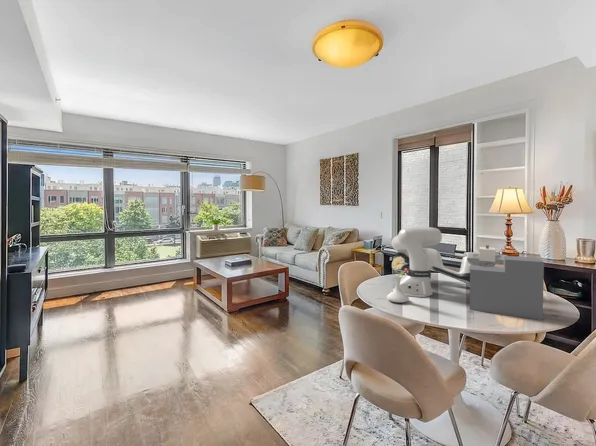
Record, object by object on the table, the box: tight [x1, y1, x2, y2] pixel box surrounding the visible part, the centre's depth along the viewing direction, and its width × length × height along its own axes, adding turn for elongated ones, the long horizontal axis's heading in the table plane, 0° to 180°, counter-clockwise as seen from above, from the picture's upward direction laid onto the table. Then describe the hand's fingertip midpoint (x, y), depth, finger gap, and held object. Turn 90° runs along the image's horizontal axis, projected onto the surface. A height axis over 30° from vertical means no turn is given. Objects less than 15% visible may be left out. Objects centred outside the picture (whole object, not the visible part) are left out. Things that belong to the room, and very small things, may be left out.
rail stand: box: [469, 255, 545, 321], centre depth 143 cm, size 12×28×26 cm, turn 57°
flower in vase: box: [386, 256, 410, 303], centre depth 159 cm, size 13×11×25 cm
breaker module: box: [478, 244, 497, 262], centre depth 160 cm, size 19×7×8 cm, turn 148°
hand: (487, 253), depth 165 cm, fingers closed on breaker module, 3 cm apart
